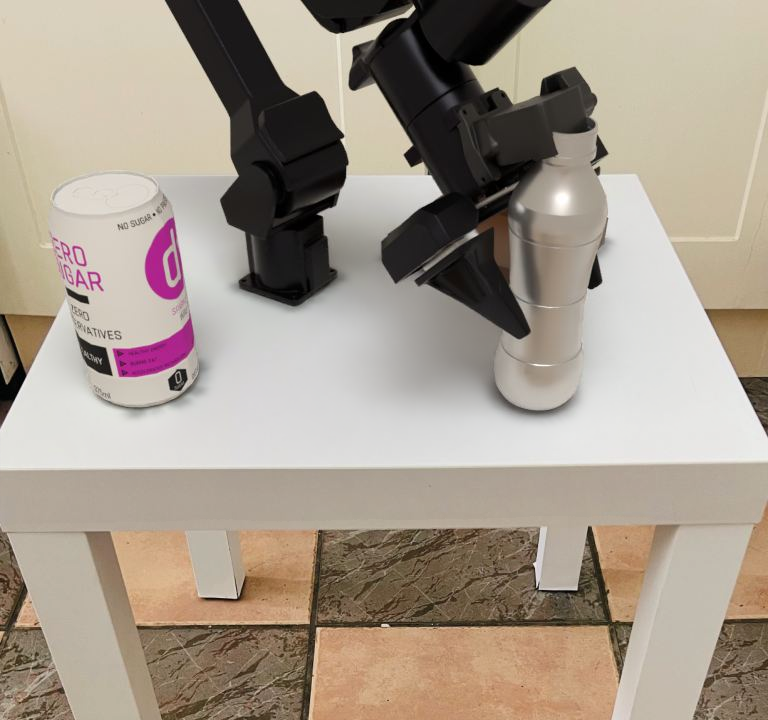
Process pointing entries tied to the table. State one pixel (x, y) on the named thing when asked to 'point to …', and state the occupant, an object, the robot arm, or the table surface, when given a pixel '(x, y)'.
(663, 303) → the table surface
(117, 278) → the white soda can
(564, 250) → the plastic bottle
